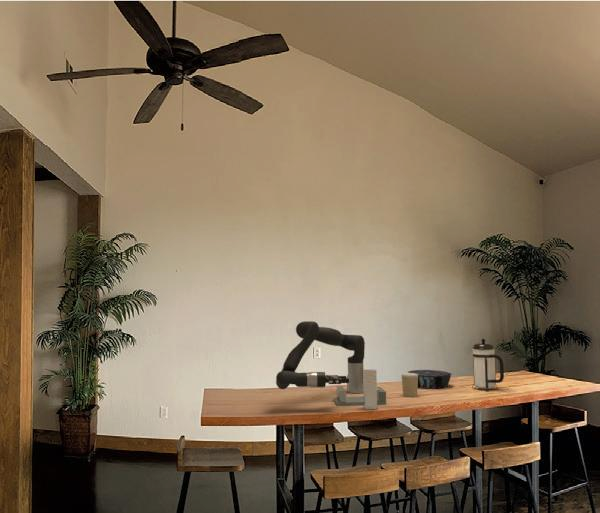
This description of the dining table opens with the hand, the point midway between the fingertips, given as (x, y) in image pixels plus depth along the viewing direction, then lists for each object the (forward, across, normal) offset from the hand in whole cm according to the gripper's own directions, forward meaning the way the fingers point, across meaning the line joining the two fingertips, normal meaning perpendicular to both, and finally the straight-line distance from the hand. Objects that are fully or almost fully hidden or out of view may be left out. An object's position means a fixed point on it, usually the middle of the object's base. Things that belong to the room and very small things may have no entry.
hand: (347, 379), depth 263 cm
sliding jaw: (-1, +15, +13) cm, 20 cm away
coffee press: (+90, +43, +13) cm, 101 cm away
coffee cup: (+40, +30, +14) cm, 52 cm away
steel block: (+12, 0, +14) cm, 19 cm away
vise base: (+9, +15, +14) cm, 23 cm away
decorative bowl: (+60, +59, +14) cm, 86 cm away
